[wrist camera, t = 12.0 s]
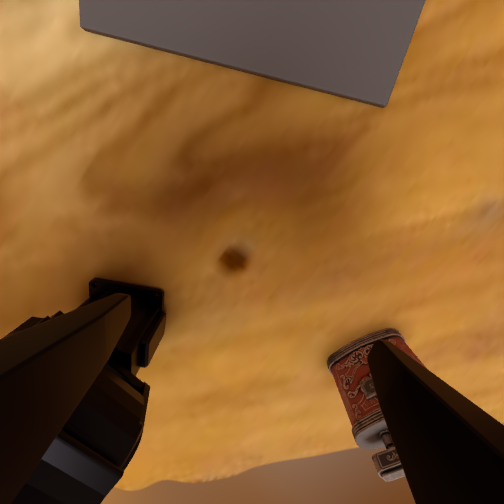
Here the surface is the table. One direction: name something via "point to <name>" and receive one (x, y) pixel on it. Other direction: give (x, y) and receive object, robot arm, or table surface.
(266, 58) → the rubber mat
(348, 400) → the lighter
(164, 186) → the table surface
